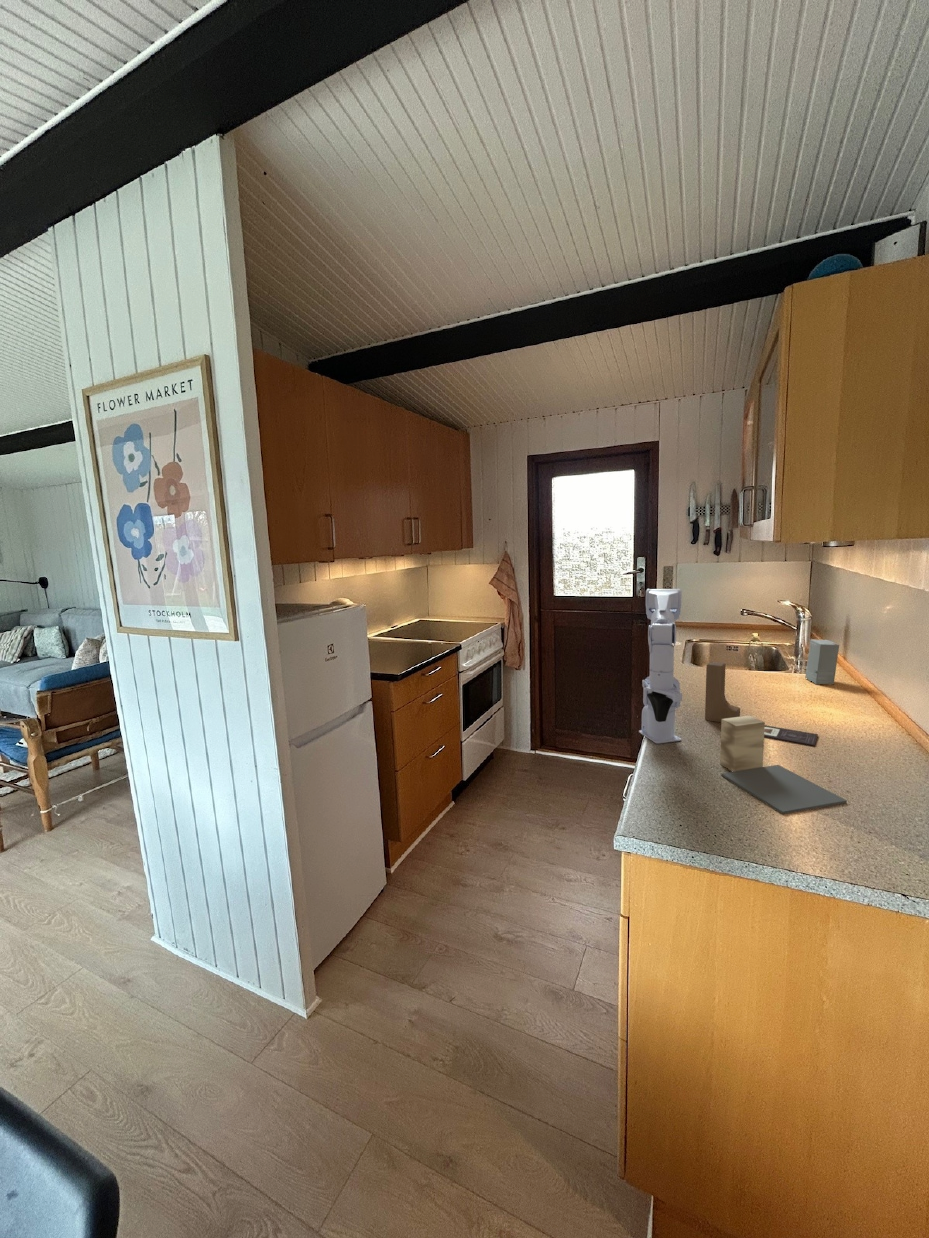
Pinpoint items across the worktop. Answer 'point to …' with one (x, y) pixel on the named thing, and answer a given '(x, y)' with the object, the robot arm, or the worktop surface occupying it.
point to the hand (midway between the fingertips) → (660, 720)
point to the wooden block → (717, 694)
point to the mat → (783, 789)
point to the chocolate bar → (790, 735)
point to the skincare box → (822, 661)
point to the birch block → (742, 743)
